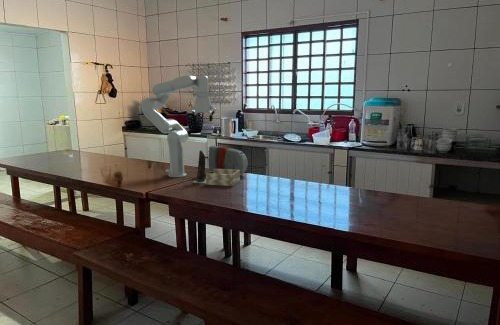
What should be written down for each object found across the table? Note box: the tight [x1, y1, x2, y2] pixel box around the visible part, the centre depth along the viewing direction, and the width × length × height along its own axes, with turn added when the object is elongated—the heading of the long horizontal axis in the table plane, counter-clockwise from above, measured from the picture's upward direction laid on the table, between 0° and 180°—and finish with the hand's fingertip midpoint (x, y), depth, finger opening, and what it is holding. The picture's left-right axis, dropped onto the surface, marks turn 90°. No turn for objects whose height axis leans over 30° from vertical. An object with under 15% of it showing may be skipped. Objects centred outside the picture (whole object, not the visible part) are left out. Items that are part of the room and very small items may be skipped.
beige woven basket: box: [205, 169, 241, 187], centre depth 231 cm, size 18×15×7 cm
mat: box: [192, 178, 206, 184], centre depth 235 cm, size 9×9×1 cm
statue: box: [194, 149, 207, 182], centre depth 234 cm, size 7×7×20 cm
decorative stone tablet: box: [207, 145, 249, 176], centre depth 252 cm, size 19×6×30 cm
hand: (203, 121), depth 238 cm, fingers open, 9 cm apart
